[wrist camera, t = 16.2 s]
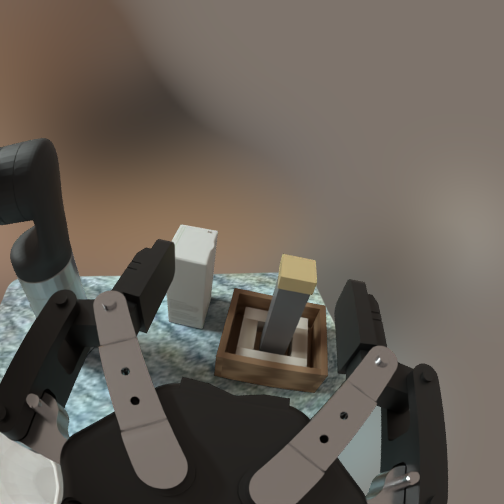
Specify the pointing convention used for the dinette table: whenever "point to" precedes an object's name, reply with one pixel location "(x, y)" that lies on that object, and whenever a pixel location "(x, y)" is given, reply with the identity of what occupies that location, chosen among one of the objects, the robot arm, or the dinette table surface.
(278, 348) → the grey plug
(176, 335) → the dinette table surface
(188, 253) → the skincare box
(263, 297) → the walnut box
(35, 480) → the cup
